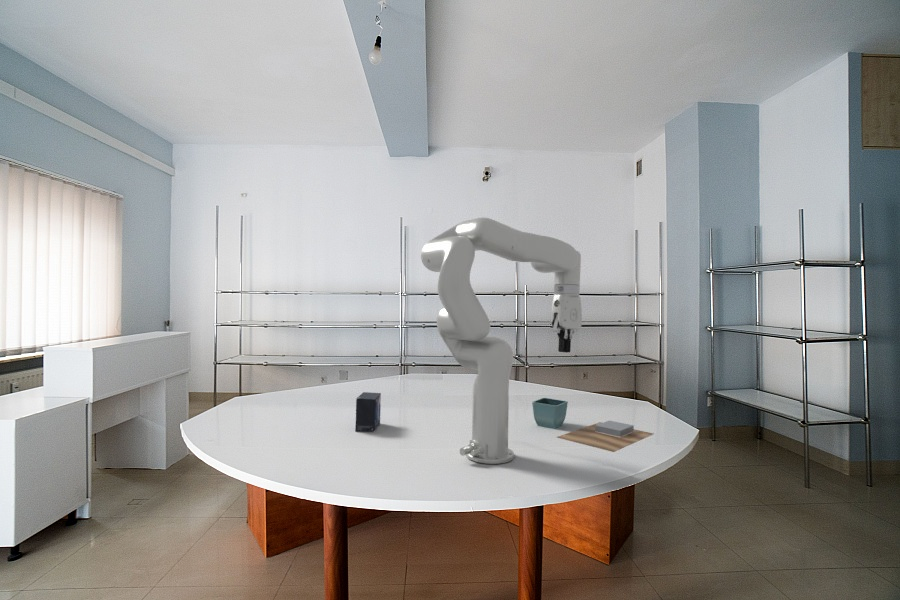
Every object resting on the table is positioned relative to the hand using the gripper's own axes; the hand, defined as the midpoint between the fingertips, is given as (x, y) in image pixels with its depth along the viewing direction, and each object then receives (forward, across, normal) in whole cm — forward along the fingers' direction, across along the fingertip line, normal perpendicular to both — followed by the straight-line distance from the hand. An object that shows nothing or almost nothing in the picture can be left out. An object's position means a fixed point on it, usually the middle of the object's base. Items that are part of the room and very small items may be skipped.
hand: (564, 351), depth 141 cm
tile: (+24, +12, -8) cm, 28 cm away
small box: (+28, -37, +48) cm, 67 cm away
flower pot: (+26, +7, +9) cm, 29 cm away
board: (+26, +11, -9) cm, 29 cm away
